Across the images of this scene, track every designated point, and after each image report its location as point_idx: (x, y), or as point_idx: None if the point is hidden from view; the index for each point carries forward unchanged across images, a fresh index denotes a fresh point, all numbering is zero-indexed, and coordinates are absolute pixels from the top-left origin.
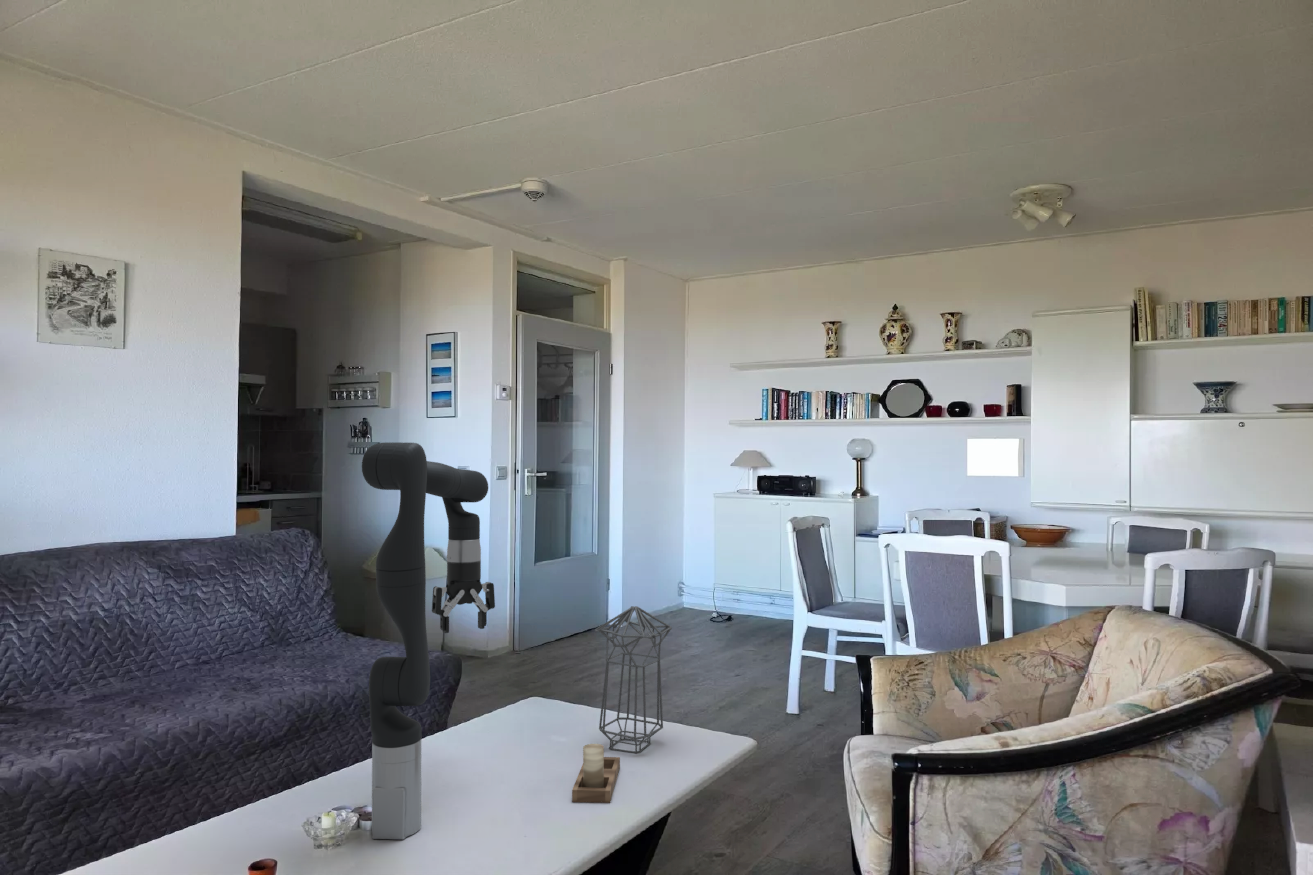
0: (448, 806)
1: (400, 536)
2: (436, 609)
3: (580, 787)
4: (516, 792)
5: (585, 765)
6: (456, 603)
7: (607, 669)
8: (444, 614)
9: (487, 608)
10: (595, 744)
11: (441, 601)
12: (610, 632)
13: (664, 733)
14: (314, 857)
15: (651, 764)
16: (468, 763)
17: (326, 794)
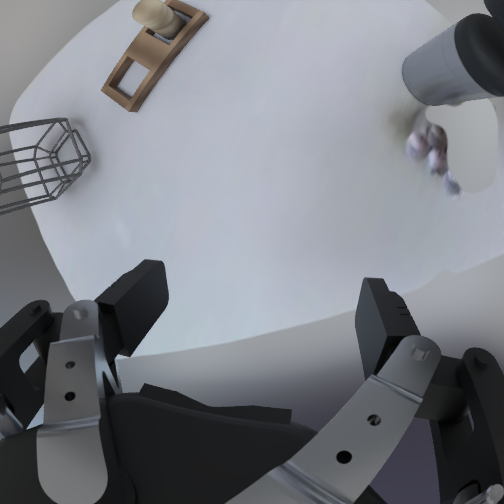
0: (353, 91)
1: None
2: (500, 373)
3: (190, 15)
4: (253, 77)
5: (170, 11)
6: (349, 409)
7: (10, 176)
8: (430, 347)
9: (65, 311)
10: (137, 17)
11: (492, 431)
12: None
13: (38, 176)
14: None
15: (81, 89)
16: (261, 221)
17: (446, 239)
